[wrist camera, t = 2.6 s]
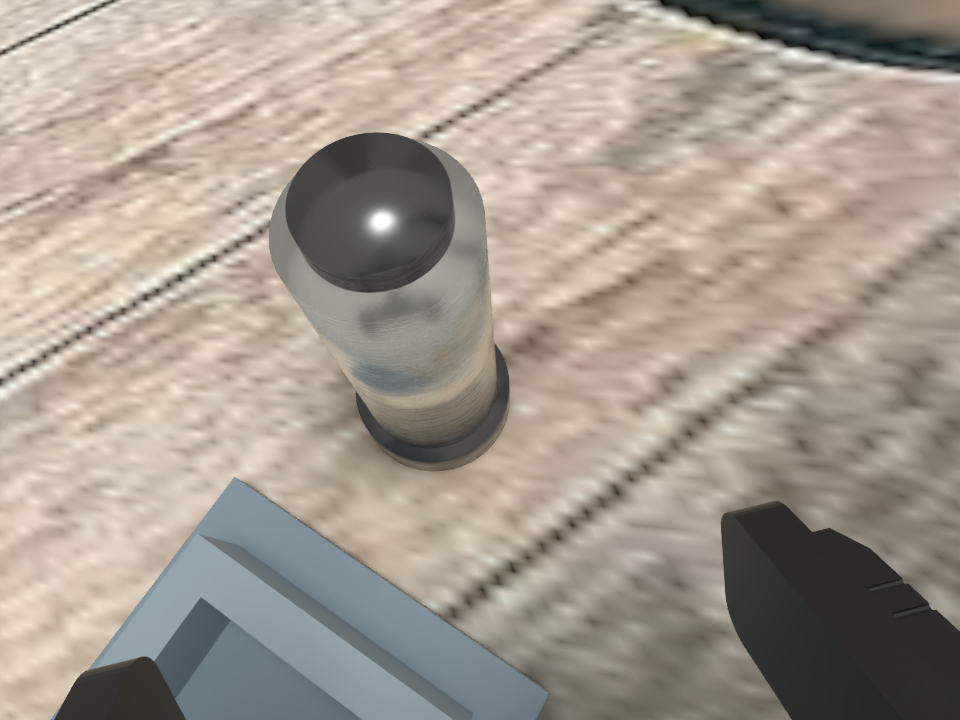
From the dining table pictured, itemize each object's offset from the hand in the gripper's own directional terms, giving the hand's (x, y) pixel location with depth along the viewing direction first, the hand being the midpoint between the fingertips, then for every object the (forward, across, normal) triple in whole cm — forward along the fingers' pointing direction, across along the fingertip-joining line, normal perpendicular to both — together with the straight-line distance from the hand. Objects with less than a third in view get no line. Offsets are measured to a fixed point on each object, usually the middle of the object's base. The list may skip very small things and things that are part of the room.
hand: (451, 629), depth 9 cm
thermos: (+14, 0, +3) cm, 14 cm away
